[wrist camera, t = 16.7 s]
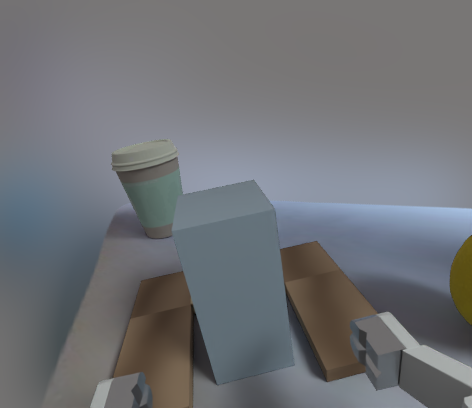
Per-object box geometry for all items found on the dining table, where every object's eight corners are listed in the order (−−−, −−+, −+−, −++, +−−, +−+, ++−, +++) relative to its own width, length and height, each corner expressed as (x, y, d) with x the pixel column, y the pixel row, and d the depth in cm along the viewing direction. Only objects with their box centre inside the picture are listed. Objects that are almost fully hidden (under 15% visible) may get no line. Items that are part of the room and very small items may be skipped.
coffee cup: (165, 213, 45) (144, 140, 40) (207, 217, 40) (188, 136, 36) (123, 240, 38) (92, 156, 33) (168, 248, 34) (139, 153, 29)
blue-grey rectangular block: (273, 308, 22) (254, 179, 18) (294, 365, 17) (274, 208, 13) (212, 323, 22) (177, 195, 17) (217, 385, 17) (171, 231, 13)
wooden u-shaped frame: (317, 249, 28) (316, 240, 28) (407, 361, 16) (408, 348, 16) (144, 288, 27) (141, 279, 27) (103, 440, 15) (96, 428, 15)
